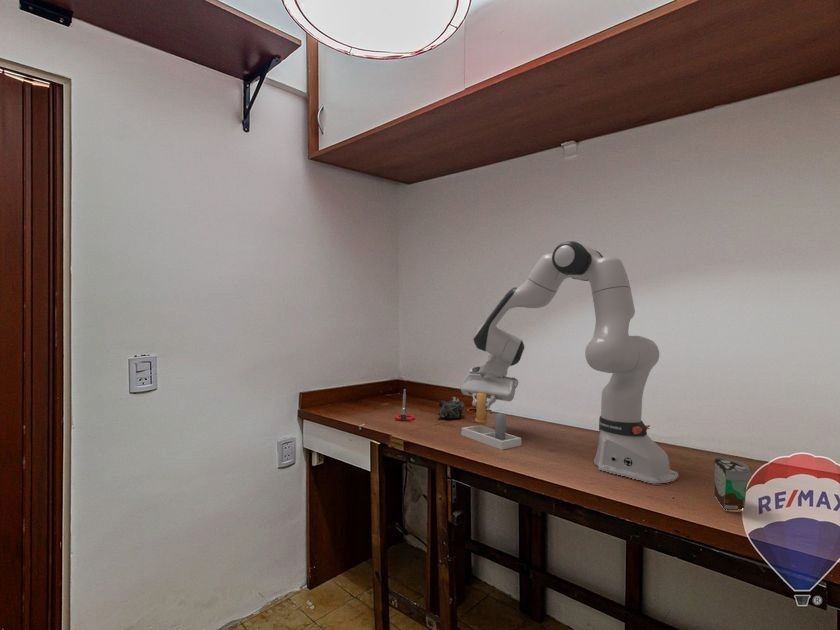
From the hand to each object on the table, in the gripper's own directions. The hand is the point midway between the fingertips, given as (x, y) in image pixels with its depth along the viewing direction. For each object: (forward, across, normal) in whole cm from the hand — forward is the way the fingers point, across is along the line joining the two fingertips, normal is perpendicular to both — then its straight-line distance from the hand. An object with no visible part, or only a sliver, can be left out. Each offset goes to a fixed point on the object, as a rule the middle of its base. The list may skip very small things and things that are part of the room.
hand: (480, 406), depth 158 cm
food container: (+16, -74, 0) cm, 75 cm away
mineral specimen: (-8, +27, -25) cm, 38 cm away
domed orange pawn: (+3, 0, -4) cm, 5 cm away
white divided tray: (+9, -5, -7) cm, 13 cm away
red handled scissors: (+3, +39, -14) cm, 41 cm away
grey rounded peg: (+10, -9, -6) cm, 14 cm away
